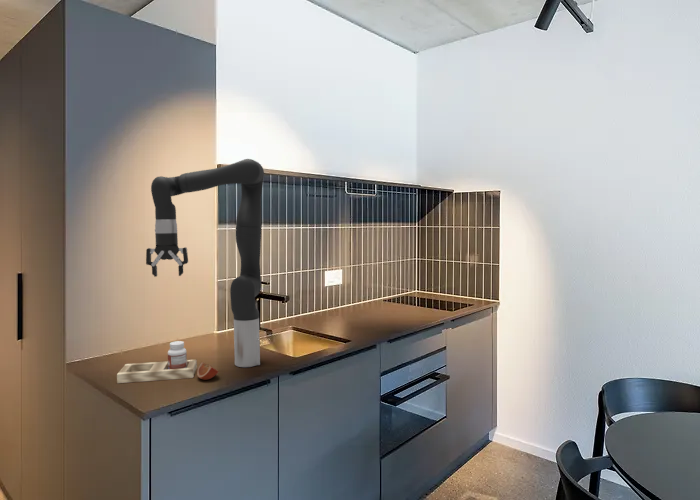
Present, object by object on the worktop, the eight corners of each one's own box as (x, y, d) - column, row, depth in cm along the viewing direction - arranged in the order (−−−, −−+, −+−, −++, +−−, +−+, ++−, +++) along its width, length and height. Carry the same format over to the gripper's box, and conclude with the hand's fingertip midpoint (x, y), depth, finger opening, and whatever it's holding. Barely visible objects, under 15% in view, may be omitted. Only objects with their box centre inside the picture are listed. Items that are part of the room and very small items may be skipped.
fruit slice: (193, 377, 160) (193, 363, 160) (212, 373, 164) (212, 359, 164) (203, 384, 154) (202, 369, 153) (222, 379, 158) (221, 365, 157)
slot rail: (196, 367, 170) (196, 359, 170) (193, 377, 159) (192, 369, 159) (126, 372, 165) (125, 364, 165) (117, 383, 155) (116, 374, 154)
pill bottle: (171, 371, 166) (170, 340, 165) (189, 370, 167) (188, 340, 166) (166, 377, 160) (165, 345, 159) (184, 376, 161) (183, 344, 160)
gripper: (188, 231, 176) (189, 274, 177) (147, 231, 173) (149, 275, 174) (185, 232, 169) (186, 276, 170) (143, 232, 166) (145, 278, 167)
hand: (167, 275), depth 172 cm, fingers open, 8 cm apart
